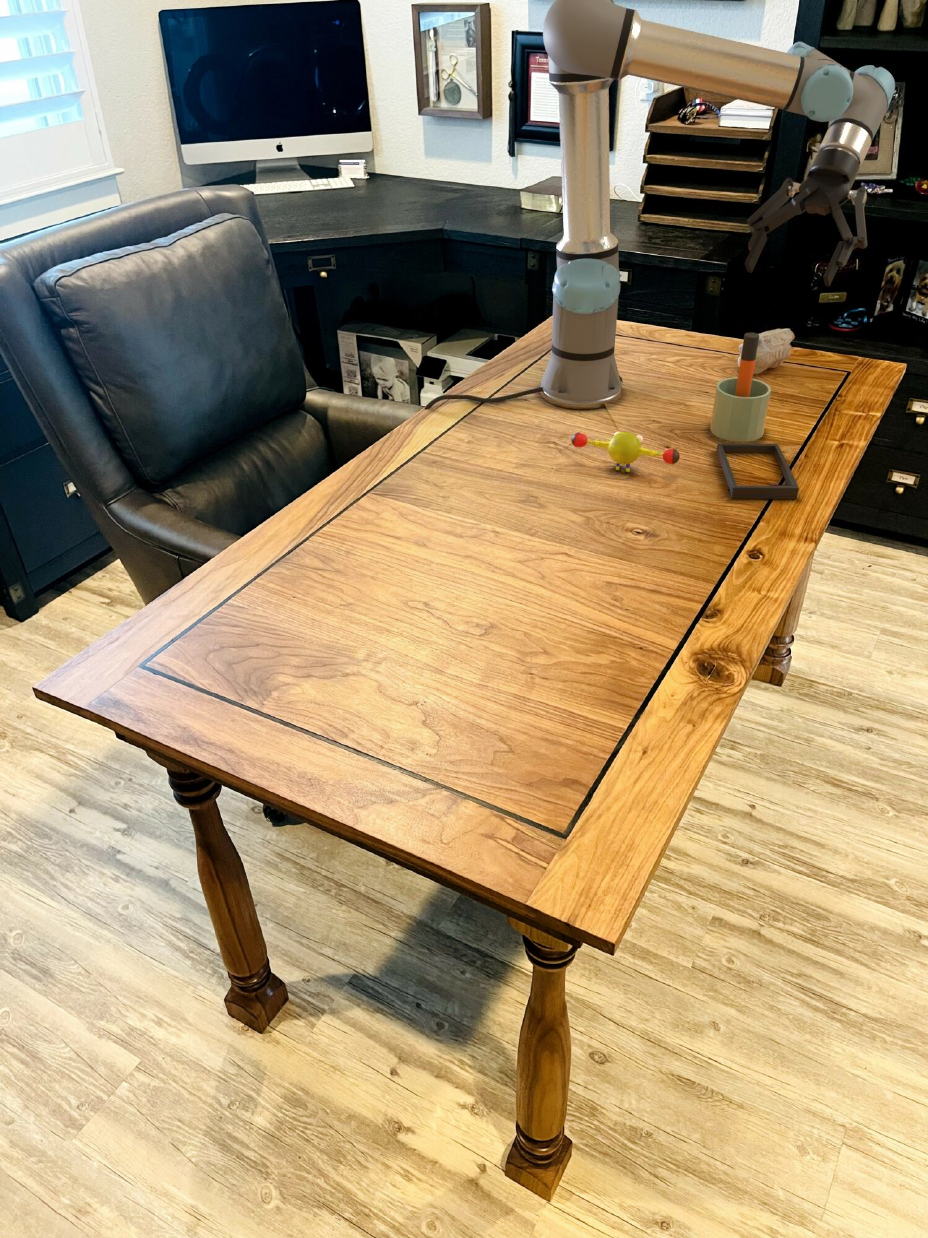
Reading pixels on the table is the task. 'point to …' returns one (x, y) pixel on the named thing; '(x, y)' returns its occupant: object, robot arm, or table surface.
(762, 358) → the fossil replica
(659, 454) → the toy figure
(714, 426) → the pen cup
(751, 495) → the pen tray
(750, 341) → the marker
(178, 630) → the table surface
